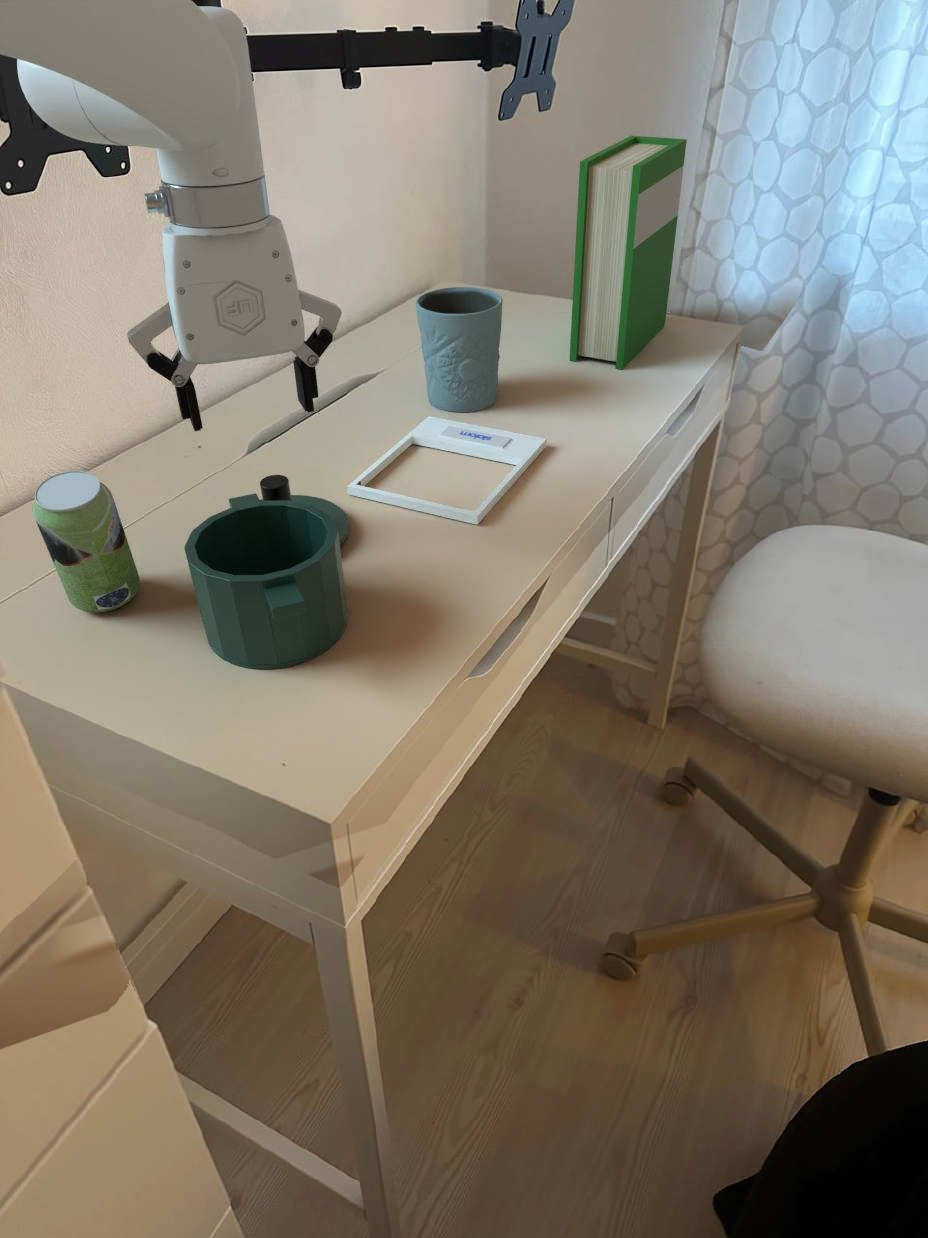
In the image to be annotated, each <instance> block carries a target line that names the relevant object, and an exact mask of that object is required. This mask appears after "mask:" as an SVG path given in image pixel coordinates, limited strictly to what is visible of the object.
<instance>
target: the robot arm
mask: <svg viewBox="0 0 928 1238" xmlns="http://www.w3.org/2000/svg"><path fill="white" fill-rule="evenodd" d="M0 55H1V56H5V57H8V58H9V57H10V58H12V59H16V67H17V76H18V82H19V85H20V88H21V91H22V93H23V95H24V98H25V100H26V101H27V103H28V104H29V106H30V107H31V109H32V110H33V111H34V113H35V114H36V115H37V116H38V117H39V118H40V119H41V120H42V121H43V122H44V123H45V124H47V125H48V126H49V127H50V128H52V129H53V130H55V131H56V132H58V133H60V134H61V135H64V136H67V137H69V138H72V139H74V140H77V141H82V142H86V143H91V144H92V143H93V144H100V145H110V146H111V145H112V146H122V147H140V148H141V147H142V148H149V149H150V148H151V149H155V151H156V156H157V161H158V167H159V173H160V177H161V179H160V183H161V185H160V186H158V190H153V192H146V193H143V196H144V202H145V207H146V210H147V213H148V214H152V213H158V214H159V215H164V216H165V218H168V220H169V222H167V223H166V224H164V225H162V233H161V234H162V238H161V240H162V245H161V246H162V258H163V273H164V280H165V281H164V283H165V290H166V297H167V303H166V304H164V305H162V306H161V307H160V308H159V309H157V310H156V311H154V312H153V313H152V314H150V315H149V316H148V317H145V318H144V319H143V320H141V321H140V322H139V323H137V324H136V325H134V326H133V327H132V328H130V329H129V330H128V331H127V333H126V337H127V340H128V343H129V345H130V346H131V347H132V348H133V350H135V352H136V353H137V354H138V355H139V356H140V357H141V359H142V360H144V362H145V363H146V364H147V366H148V368H150V369H151V370H153V371H154V372H155V373H157V374H159V375H160V376H161V377H164V378H165V379H166V380H168V381H169V382H170V383H172V385H173V386H174V389H175V393H176V394H175V395H176V398H177V403H178V408H179V412H180V417H181V419H182V420H190V423H191V426H192V429H193V431H194V432H200V431H202V430H203V429H204V426H203V422H202V416H201V412H200V407H199V401H198V397H197V392H196V387H195V384H194V382H193V379H192V377H191V376H192V374H193V373H194V371H195V369H196V368H197V366H198V365H213V364H220V363H221V364H222V363H229V362H237V361H242V360H243V361H244V360H250V359H256V358H264V357H270V356H275V355H282V354H287V353H291V352H292V353H293V354H294V355H295V356H294V360H292V364H293V369H294V380H295V387H296V392H297V393H296V394H297V399H298V400H297V401H298V402H299V404H300V406H301V407H302V409H303V410H304V411H305V412H307V413H314V412H315V405H314V399H318V398H319V387H318V380H317V379H318V378H317V369H316V367H317V366H318V365H319V363H320V358H321V357H322V355H323V354H324V353H325V352H326V351H327V349H328V348H329V346H331V344H332V342H333V341H334V333H335V332H336V330H337V328H338V325H339V322H340V320H341V317H342V309H341V308H340V307H339V306H338V305H337V304H336V303H334V302H332V301H329V300H326V299H324V298H321V297H319V296H317V295H314V294H311V293H309V292H307V291H303V290H301V289H299V287H298V286H299V285H298V281H297V276H296V272H295V266H294V261H293V257H292V252H291V249H290V245H289V241H288V237H287V234H286V231H285V227H284V225H283V221H282V220H281V219H280V218H278V217H277V216H276V215H272V214H271V213H270V206H269V205H270V204H269V198H268V189H267V183H266V175H265V168H264V159H263V152H262V151H263V150H262V144H261V135H260V128H259V120H258V113H257V105H256V97H255V90H254V81H253V73H252V67H251V58H250V50H249V44H248V39H247V31H246V29H245V27H244V24H243V22H242V20H241V18H240V17H239V16H238V15H237V14H236V13H235V12H234V11H233V10H230V9H228V8H226V7H220V6H213V5H212V6H211V5H209V6H208V5H204V6H203V5H201V6H200V5H199V6H198V5H197V4H196V3H195V2H194V1H193V0H0ZM303 311H305V312H307V313H310V314H313V315H315V316H318V317H319V320H318V325H317V326H316V327H315V329H314V330H313V331H312V333H311V334H310V335H309V337H307V339H306V340H305V338H306V332H305V331H306V330H305V321H304V316H303ZM171 327H172V331H173V334H174V337H175V340H176V343H177V349H176V351H175V353H174V354H173V356H172V357H171V358H170V357H168V356H166V355H165V354H164V353H162V352H161V351H159V350H158V349H157V348H156V346H155V345H154V344H153V343H152V342H153V340H154V339H156V337H158V336H159V335H161V334H163V332H165V331H166V330H168V329H169V328H171Z"/></svg>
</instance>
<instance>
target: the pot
mask: <svg viewBox="0 0 928 1238" xmlns="http://www.w3.org/2000/svg"><path fill="white" fill-rule="evenodd" d="M260 500H261V499H260V498H259V495H258V493H256V492H255V493H250V494H245V495H240V496H236V497H231V498H228V503H229V508H227V509H224V510H222V511H220V512H218V513H216V514H215V513H214V514H213V515H211V516H209V517H207V518H206V519H205V520H204V521H202V522H201V523H200V524H198V525H197V526H196V527H195V528H194V529H193V530H192V531H190V534H189V536H188V538H187V541H186V542H185V545H184V548H183V549H184V553H185V557H186V561H187V566H188V569H189V573H190V576H191V580H192V584H193V589H194V592H195V596H196V600H197V604H198V605H197V606H198V608H199V613H200V616H201V621H202V625H203V629H204V632H205V636H206V640H207V643H208V645H209V647H210V649H211V650H212V652H213V653H214V654H215V655H217V656H218V657H219V658H221V660H223V661H225V662H227V663H229V664H232V665H234V666H237V667H241V668H246V669H251V670H252V669H254V670H276V669H282V668H288V667H292V666H293V667H294V666H296V665H301V664H303V663H306V662H309V661H311V660H313V659H315V658H317V657H319V656H321V655H323V654H324V653H326V652H327V651H328V650H330V649H331V648H332V647H333V646H335V644H336V643H337V642H338V641H339V640H340V638H341V637H342V635H343V634H344V632H345V630H346V628H347V624H348V611H349V610H348V609H349V608H348V607H349V606H348V602H347V601H348V600H347V592H346V591H347V590H346V584H345V576H344V575H345V574H344V568H343V560H342V552H341V546H340V543H339V535H338V529H337V527H336V525H335V524H334V522H333V520H332V518H331V516H330V515H328V514H327V513H325V512H323V511H321V510H320V509H318V508H316V507H315V506H312V505H308V504H303V503H299V502H294V501H288V500H282V501H260Z"/></svg>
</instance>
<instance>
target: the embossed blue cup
mask: <svg viewBox="0 0 928 1238" xmlns="http://www.w3.org/2000/svg"><path fill="white" fill-rule="evenodd" d="M503 301H504V300H503V297H502V296H501V295H500V294H498V293H497V292H495V291H494V290H491V289H487V288H482V287H472V286H455V287H454V286H453V287H446V288H444V287H443V288H439V289H434V290H430V291H427V292H425V293H423V294H421V295H419V296H418V297H417V298H416V299H415V303H414V304H415V310H416V317H417V324H418V328H419V334H420V335H419V336H420V341H421V342H420V344H421V351H422V358H423V362H424V365H423V367H424V372H425V381H426V392H427V398H428V402H429V403H430V405H431V406H433V407H434V408H436V409H438V410H440V411H444V412H450V413H473V412H478V411H482V410H485V409H487V408H490V407H492V406H493V405H494V404H495V403H496V401H497V399H498V394H499V361H500V342H501V335H502V334H501V333H502V322H503V321H502V319H503V315H502V314H503Z"/></svg>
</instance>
